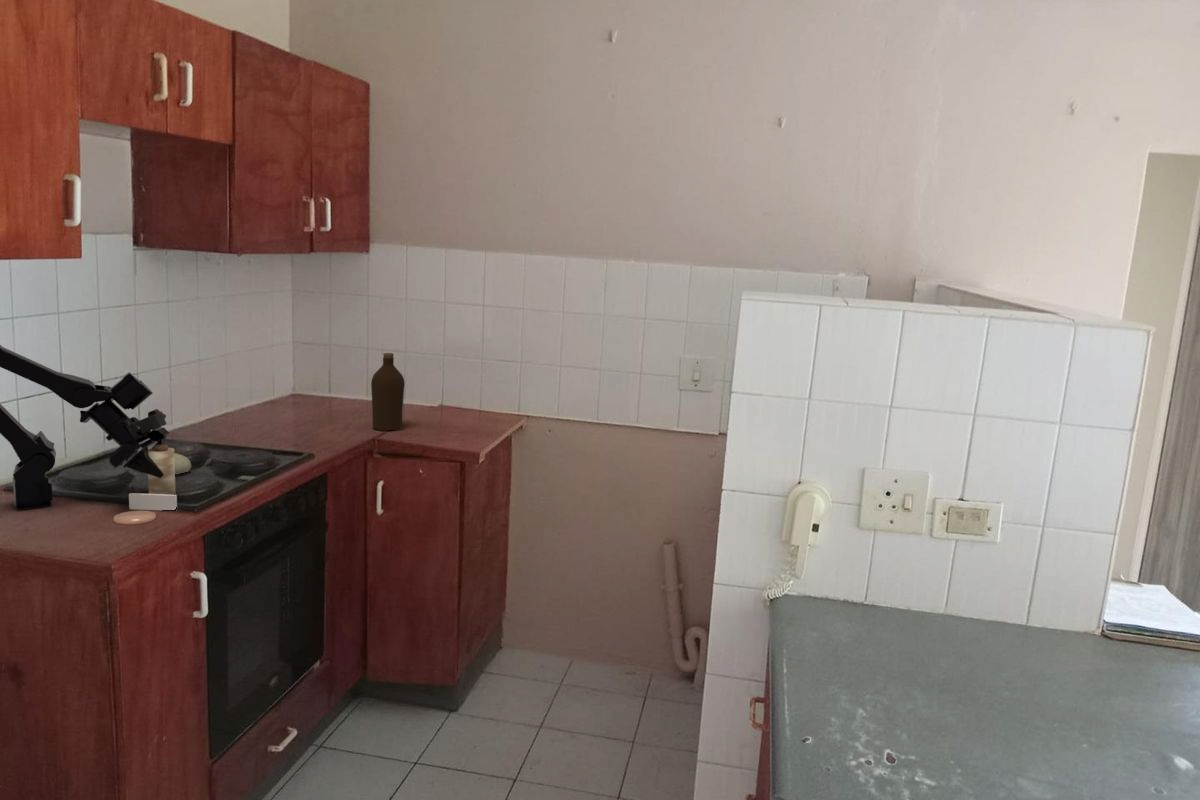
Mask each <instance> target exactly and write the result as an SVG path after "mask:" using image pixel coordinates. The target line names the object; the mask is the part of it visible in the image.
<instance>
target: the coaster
mask: <svg viewBox="0 0 1200 800" xmlns="http://www.w3.org/2000/svg"><path fill="white" fill-rule="evenodd" d="M156 514H157V513H156V512H154V511H152V510H131V511H125V512H120V513H117V514H116V515H114V516H113V522H114V524H117V525H123V526H124V525H125V526H133V525H141V524H146V523H149V522H150V523H151V522H152V521H154V520H155V519H156V518H157V515H156Z"/></svg>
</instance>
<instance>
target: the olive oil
mask: <svg viewBox="0 0 1200 800" xmlns="http://www.w3.org/2000/svg"><path fill="white" fill-rule="evenodd" d="M382 355H383V357H382V366H381V367H379V368H378V369H377V371H376V372H375V373H374V374H373V376H372V378H371V380H370V381H371V384H370V385H371V386H370V387H371V409H372V410H371V411H372V412H371V413H372V415H371V416H372V429H373V428H374V429H373V430H375V429H377V430H376V431H379V430H396V429H400V428H401V429H402V428H403V427H402V426H403V413H404V411H403V409H404V399H405V397H404V396H405V395H404V394H405V379H404V376H403V374H402V372H401V371H399V370H398V369H397V367H396V366H395V364H394V353H393V352H384V353H382ZM401 429H400V430H401Z"/></svg>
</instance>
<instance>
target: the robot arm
mask: <svg viewBox="0 0 1200 800" xmlns="http://www.w3.org/2000/svg"><path fill="white" fill-rule="evenodd" d="M0 368H2V369H4V370H6V371H8V372H11V373H12V374H14V375H17V376H20V377H21V378H24V379H26V380H28V381H31V382H33V383H35V384H37V385H40V386H42V387H44V388H46V389H48V390H50V391H51V392H53V393H54V394H55V395H56V396H58V397H59V398H60V399H62V400H64V401H65V402H66V403H68V404H70V405H71V406H73V407H75V408H78V409H86V408H88V409H87V410H80V411H79V413H80V417H79V422H80V423H82V424H83V423H84V424H87V423H88V422H89V421H90V420H92V421H93V422H94V423H95V424H96V425H97V426H98V427H99V428H100V429H102V431H103V432H104V433H105V434H106V435H107V436H106V437H105V439H106V440H107V441H109V442H110V441H114V443H116V444H117V445H118V446H119V447H118V448H116V450H115V451H113V453H111V454H110V455H109V456H108V464H110V465H111V466H112V467H113V468H114V469H115V470H116V469H118V468H120V467H122V465H123V462H125V461H126V463H125V464H124V465H123V467H124V468H128V469H131V470H134V471H139V472H142V473H145V474H147V475H148V474H150V475H153V476H155V477H158V478H161V477H162V476H163V475H164V474H163V473H162V471H161V470H160V469H159V468H158V466H157V465H156V464H155V463H154V462H153V460H152V459H151V458H150V457H149V455H148V450H149V449H152V448H153V446H154V445H159V444H166V441H167V437H168V436H169V435H170V432H169V431H168V430H167V428H165V427H163V426H165V425H167V424H168V423H167V422H166V420H165V419H166V417H167V414H165V413H163V411H161V410H160V409H158V408H156V409H153V410H150V411H148V412H147V417H144V418H142V419H140V420H139V419H138V418H137V417H136V416H132V417H129V415H127V414H126V413H125V412H124V411H123V410H122V409H124V410H130V409H131V410H136V408H137V407H139V405H141V404H142V403H143V402H144V401H145V400H146V399H148V398H149V397H151V396H152V395H154V392H153V391H152V390H151V389H150V388H149V387H148V386H147V385H146V384H145V383H144V382H143V381H142V380H141V379H140V380H139V379H138V378H137V377H136V376H134V375H133V374H132V373H131V372H127V373H126V374H124V376H123V377H122V378H121V379H120V380H119V381H118V382H116V383H115V384H114V385H113V386H110V385H109V386H108V385H100V384H95V383H94V382H93V381H92V380H90V379H87V378H85V377H80V376H76V375H73V374H68V373H63V372H60V371H58V370H57V371H56V370H54V369H52V368H50V367H47V366H45V365H43V364H41V363H38V362H36V361H34V360H32V359H30V358H28V357H26V356H23V355H21V354H19V353H16V352H15V351H12V350H10V349H8V348H6V347H4V346H2V345H1V344H0ZM99 402H101V403H99ZM115 402H116V403H117V404H118V405H117V404H116V403H115ZM119 406H120V407H121V408H122V409H121V408H120V407H119ZM89 407H90V408H89ZM0 435H1V436H2V437H3V438H4V439H5V440H6V441H7V442H8V443H10V445H11V448H13V450H14V453H15V454H16V456H17V457H18V459H19V460H20V461H18V463H16V464H15V467H14V471H13V475H12V476H13V477H12V485H13V486H12V489H13V500H12V504H13V506H14V508H15V509H16V510H17V511H21V510H29V509H37V508H45V507H46V508H47V507H51V506H52V502H53V499H54V498H53V484H52V482H51V481H50V480H49V476H48V475H47V473H48V472H50V471H51V470H52V469H53V468H54V466H55V463H56V458H57V452H56V449H55V442H52V441H51V440H49V439H48V438H47V437H46V435H45V434H44V432H43V431H41V430H40V431H39V432H38V433H36V434H35V433H33V432H31V431H29V430H28V429H27V428H25V426H23V425H22V424H21V423H20V422H19V421H18V419H16V418H15V417H14V415H12V413H11V412H9V411H8V410H7V409H6V408H5V406H3V405H2V404H1V403H0Z"/></svg>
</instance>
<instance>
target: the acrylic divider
mask: <svg viewBox="0 0 1200 800" xmlns="http://www.w3.org/2000/svg"><path fill="white" fill-rule="evenodd" d="M177 496H178V495H177V494H175V495H168V494H149V493H138V492H130V493H128V508H129V510H135V511H162V510H175V509H176V507H177V508H178V497H177Z"/></svg>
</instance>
